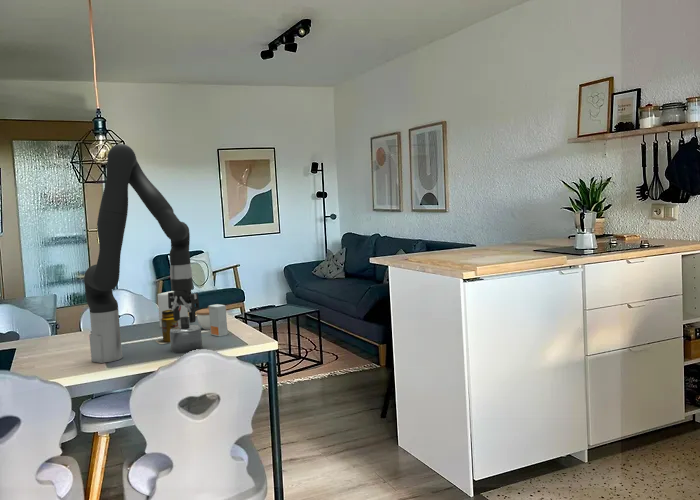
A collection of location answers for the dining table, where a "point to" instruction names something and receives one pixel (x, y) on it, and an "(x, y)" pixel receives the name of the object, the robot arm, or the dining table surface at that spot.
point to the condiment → (167, 326)
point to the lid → (185, 326)
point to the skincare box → (218, 320)
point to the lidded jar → (204, 318)
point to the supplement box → (164, 306)
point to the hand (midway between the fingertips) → (184, 321)
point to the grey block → (186, 341)
